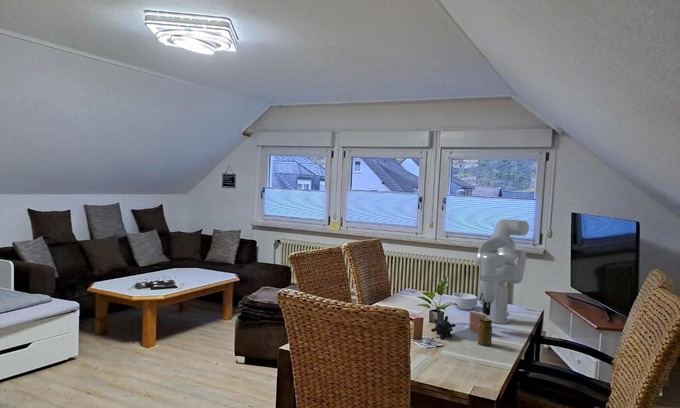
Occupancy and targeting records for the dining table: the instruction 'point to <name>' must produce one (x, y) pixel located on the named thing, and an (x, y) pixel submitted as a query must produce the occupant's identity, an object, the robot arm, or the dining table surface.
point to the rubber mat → (467, 335)
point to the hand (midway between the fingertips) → (486, 314)
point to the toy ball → (443, 327)
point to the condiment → (485, 332)
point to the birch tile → (475, 321)
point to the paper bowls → (464, 300)
